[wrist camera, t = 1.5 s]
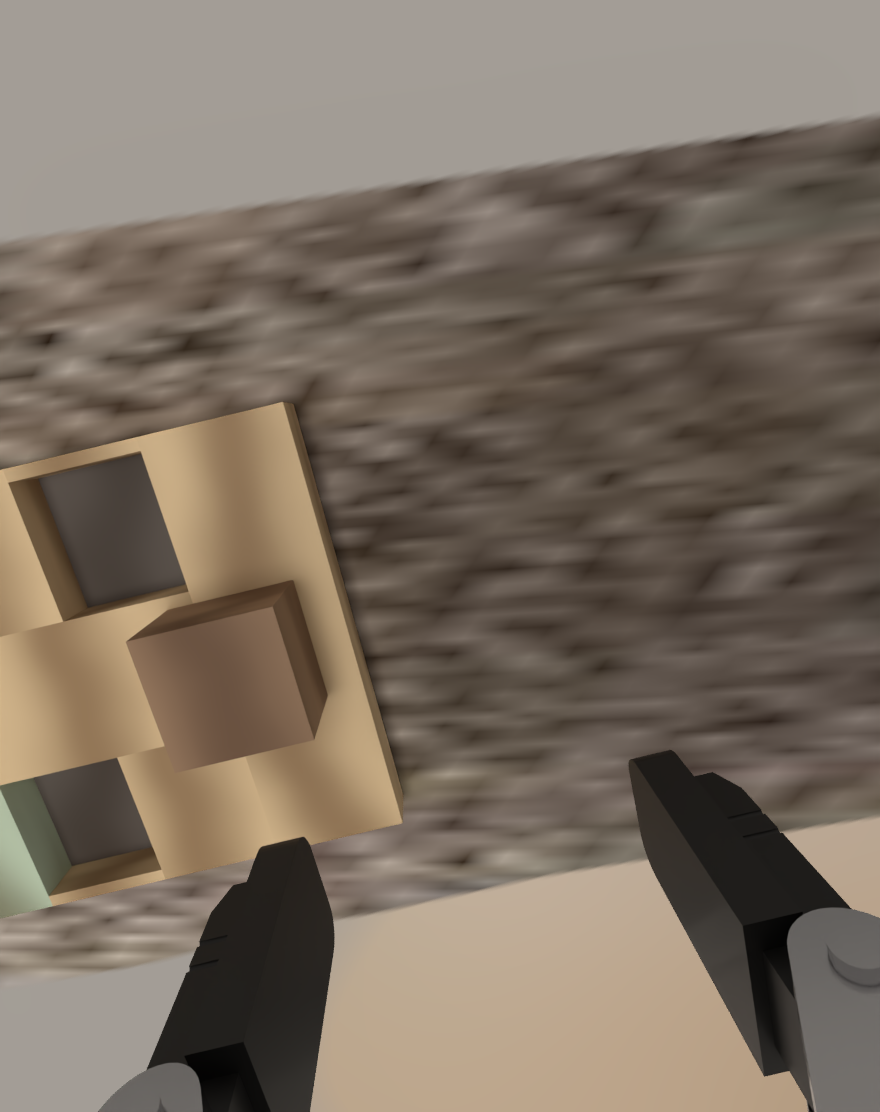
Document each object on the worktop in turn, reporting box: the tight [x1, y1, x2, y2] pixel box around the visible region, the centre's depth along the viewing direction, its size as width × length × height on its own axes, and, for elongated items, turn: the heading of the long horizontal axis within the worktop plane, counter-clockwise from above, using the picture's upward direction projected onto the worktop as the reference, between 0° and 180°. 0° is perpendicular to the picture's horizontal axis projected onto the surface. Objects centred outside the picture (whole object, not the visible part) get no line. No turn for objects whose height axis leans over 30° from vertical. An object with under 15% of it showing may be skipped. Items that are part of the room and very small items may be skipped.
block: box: [126, 580, 328, 773], centre depth 22 cm, size 5×5×4 cm
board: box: [0, 402, 403, 918], centre depth 24 cm, size 21×18×3 cm
